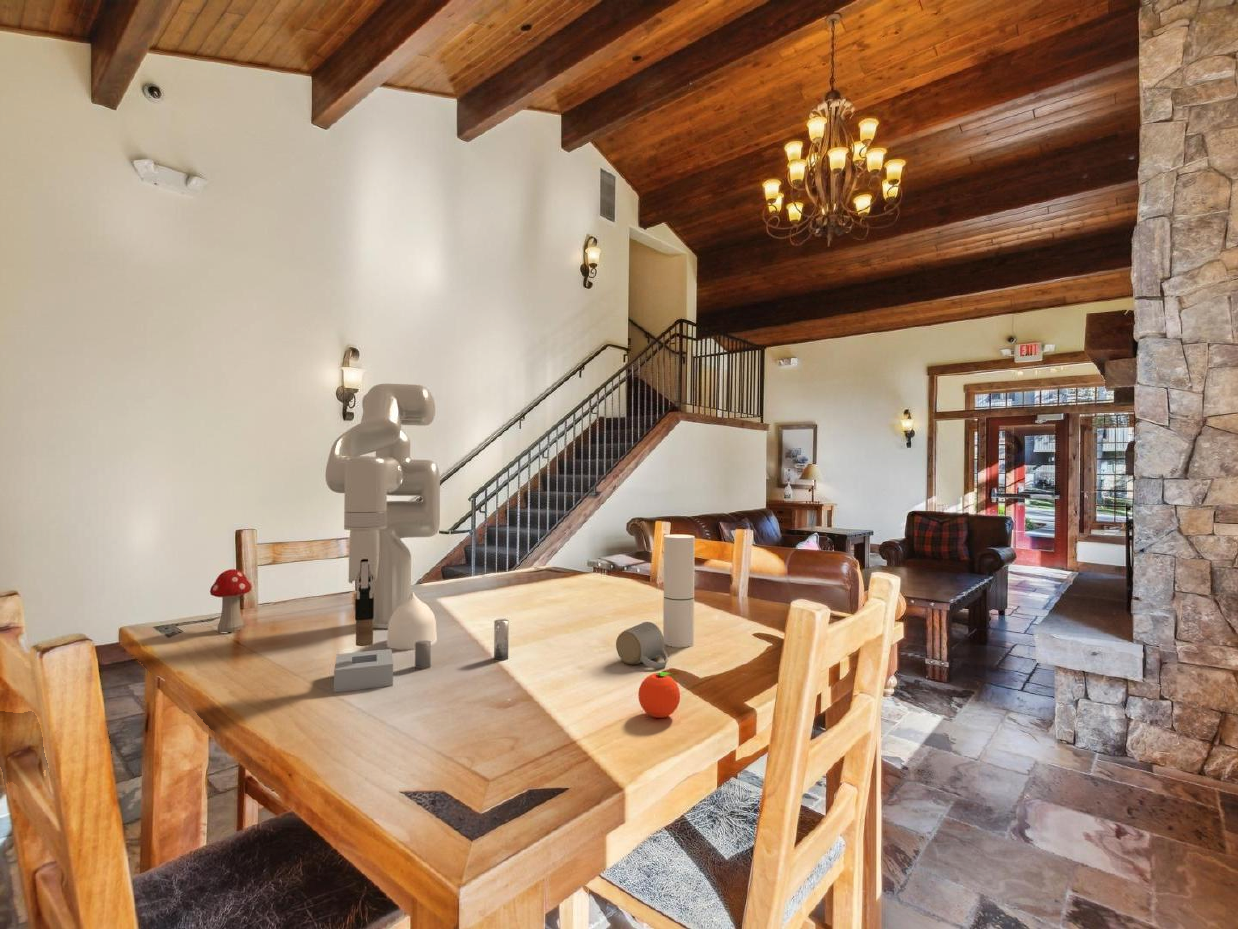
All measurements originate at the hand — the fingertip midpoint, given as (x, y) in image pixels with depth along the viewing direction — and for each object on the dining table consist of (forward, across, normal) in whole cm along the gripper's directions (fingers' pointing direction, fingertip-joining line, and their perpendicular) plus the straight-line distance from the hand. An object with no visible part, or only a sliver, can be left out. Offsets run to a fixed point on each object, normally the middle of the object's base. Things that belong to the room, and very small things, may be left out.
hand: (364, 616), depth 117 cm
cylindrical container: (+12, -1, +68) cm, 69 cm away
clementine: (+13, +35, +46) cm, 59 cm away
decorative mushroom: (+12, -49, -31) cm, 59 cm away
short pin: (+12, -4, +11) cm, 17 cm away
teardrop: (+12, -23, +10) cm, 28 cm away
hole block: (+12, 0, 0) cm, 12 cm away
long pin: (+5, 0, 0) cm, 5 cm away
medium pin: (+12, -4, +27) cm, 30 cm away
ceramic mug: (+13, +9, +55) cm, 57 cm away
